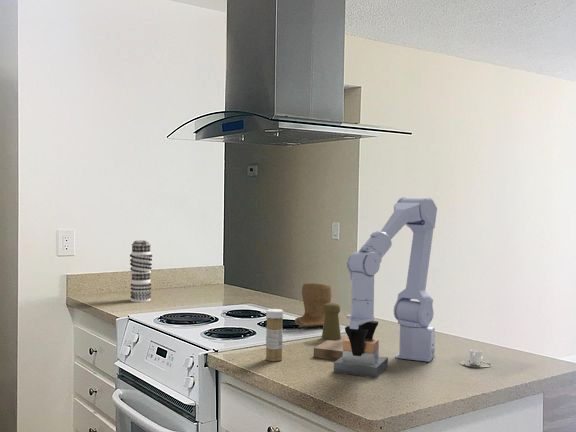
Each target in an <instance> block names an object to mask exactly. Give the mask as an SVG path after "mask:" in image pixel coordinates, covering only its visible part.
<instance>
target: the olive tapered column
mask: <svg viewBox="0 0 576 432" xmlns="http://www.w3.org/2000/svg"><path fill="white" fill-rule="evenodd" d="M323 310H324V312H325V319H324V325H323V326H322V327H323V328H322V333H321V339H322V340H324V341H327V340H332V341H339V340H340V341H341V340H342V337H341V336H342V334H341V328H340V327H341V326H340V317H339V313H340V312H341V306H340V304H338V303H335V302H330V303H327V304H325V305H324V308H323Z"/></svg>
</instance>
